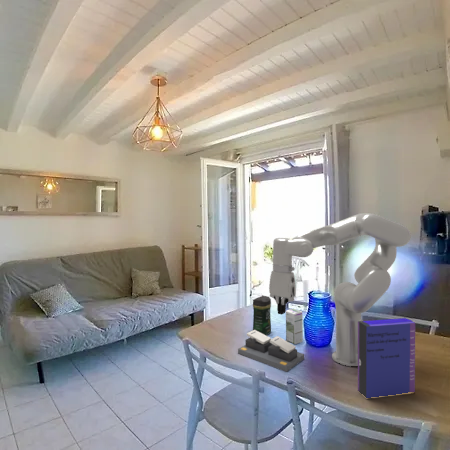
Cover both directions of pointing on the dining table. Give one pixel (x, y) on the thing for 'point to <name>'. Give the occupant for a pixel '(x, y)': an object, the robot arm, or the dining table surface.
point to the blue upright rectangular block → (386, 357)
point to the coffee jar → (262, 315)
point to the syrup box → (294, 326)
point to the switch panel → (270, 359)
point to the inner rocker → (282, 344)
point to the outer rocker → (259, 336)
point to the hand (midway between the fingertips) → (281, 313)
